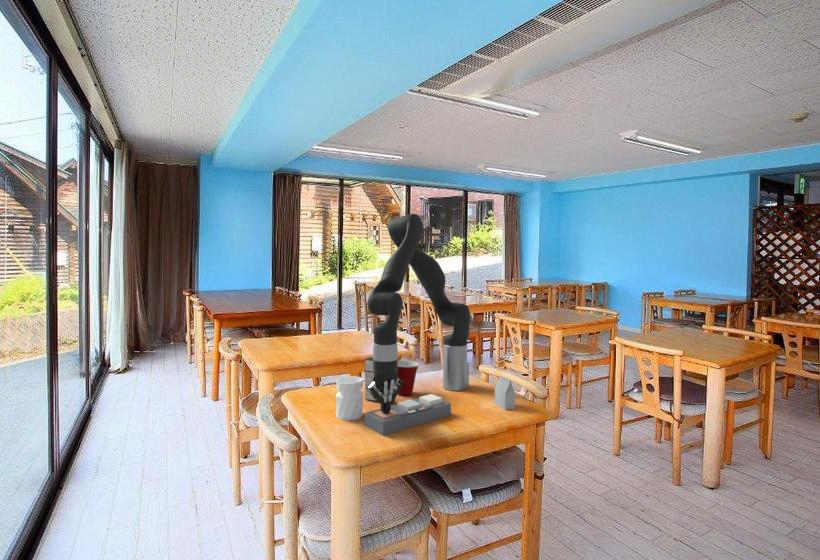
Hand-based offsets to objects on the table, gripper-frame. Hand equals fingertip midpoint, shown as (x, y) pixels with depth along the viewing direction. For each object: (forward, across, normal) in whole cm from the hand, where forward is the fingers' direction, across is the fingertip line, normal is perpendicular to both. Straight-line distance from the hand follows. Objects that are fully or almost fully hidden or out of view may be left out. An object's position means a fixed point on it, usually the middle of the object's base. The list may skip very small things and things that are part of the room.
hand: (385, 413), depth 144 cm
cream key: (+2, -18, 0) cm, 18 cm away
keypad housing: (+4, -9, 0) cm, 10 cm away
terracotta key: (+3, 0, 0) cm, 3 cm away
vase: (+5, +4, -15) cm, 16 cm away
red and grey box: (+5, -12, -21) cm, 25 cm away
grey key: (+2, -9, 0) cm, 9 cm away
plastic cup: (+4, -24, -22) cm, 33 cm away
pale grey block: (+4, -43, +10) cm, 44 cm away
